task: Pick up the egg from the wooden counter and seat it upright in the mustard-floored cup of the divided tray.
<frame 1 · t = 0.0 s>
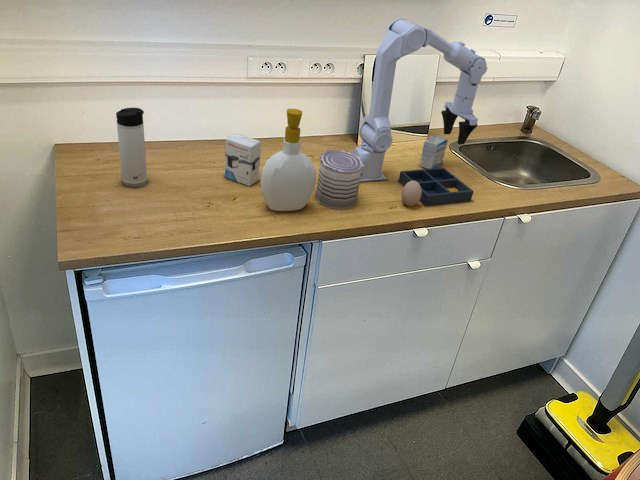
hand: (453, 138, 168), 10 cm above the worktop, tool pointing down, fingers open, 7 cm apart
divided tray: (433, 191, 159), on the worktop
ink box: (241, 179, 152), on the worktop
egg: (408, 205, 150), on the worktop
soap bottle: (285, 207, 142), on the worktop
medicine box: (430, 165, 175), on the worktop
can: (336, 199, 148), on the worktop
travel mug: (135, 183, 144), on the worktop
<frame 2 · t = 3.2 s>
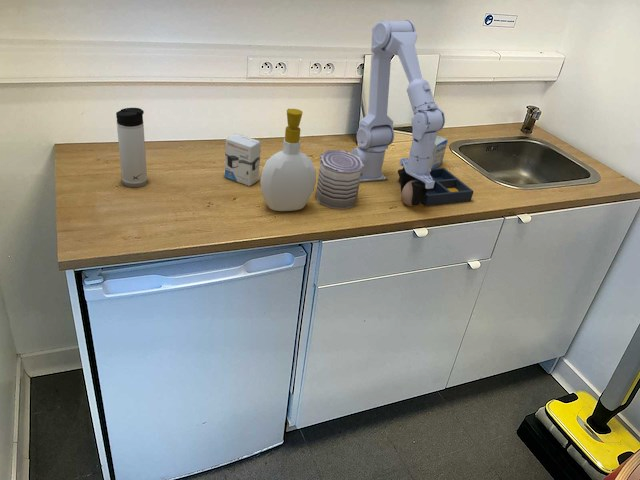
hand: (410, 199, 149), 2 cm above the worktop, tool pointing down, fingers closed on egg, 5 cm apart
egg: (408, 205, 150), on the worktop, touching gripper
everything else where it was.
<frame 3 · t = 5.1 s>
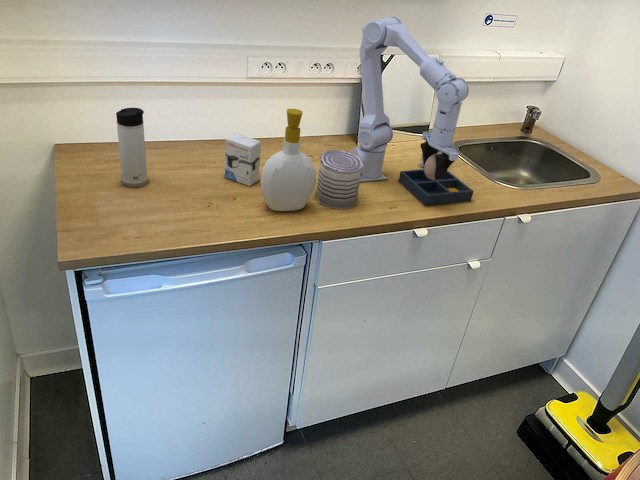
hand: (432, 173, 148), 9 cm above the worktop, tool pointing down, fingers closed on egg, 5 cm apart
egg: (431, 179, 149), point 7 cm above the worktop, touching gripper
everything else where it was.
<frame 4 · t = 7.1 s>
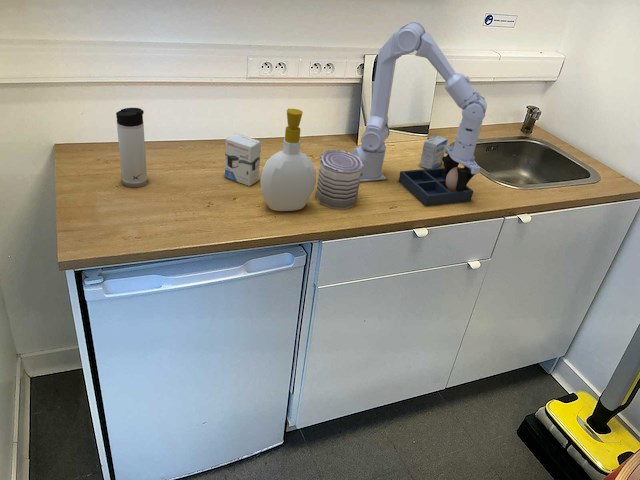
hand: (453, 185, 156), 3 cm above the worktop, tool pointing down, fingers closed on egg, 5 cm apart
egg: (452, 191, 157), point 1 cm above the worktop, touching gripper
everything else where it was.
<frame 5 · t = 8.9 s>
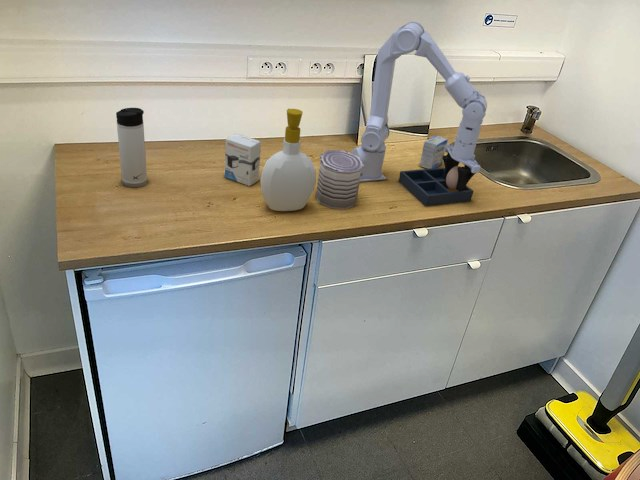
hand: (454, 184, 156), 4 cm above the worktop, tool pointing down, fingers closed on egg, 5 cm apart
egg: (452, 190, 157), point 2 cm above the worktop, touching gripper
everything else where it was.
when the fingers open (4 cm above the worktop, at t = 10.3 s): egg drops 1 cm, resting on divided tray.
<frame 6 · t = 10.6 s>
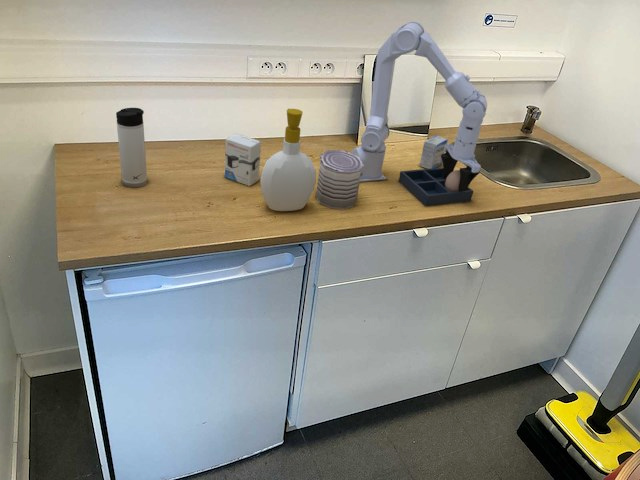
hand: (454, 184, 156), 4 cm above the worktop, tool pointing down, fingers open, 7 cm apart
egg: (451, 194, 158), point 1 cm above the worktop, touching divided tray
everything else where it was.
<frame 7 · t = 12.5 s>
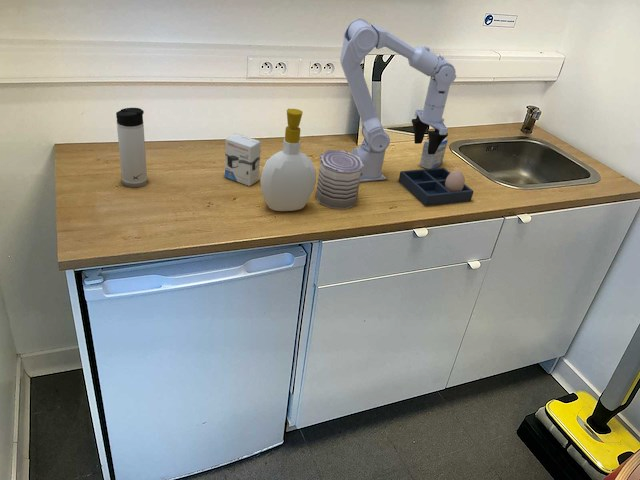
hand: (424, 148, 161), 9 cm above the worktop, tool pointing down, fingers open, 7 cm apart
nothing on the worktop moved.
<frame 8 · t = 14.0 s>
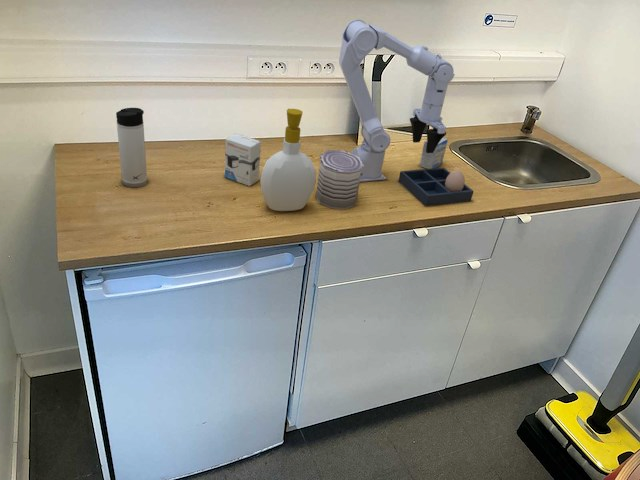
hand: (422, 147, 162), 9 cm above the worktop, tool pointing down, fingers open, 7 cm apart
nothing on the worktop moved.
at the end: egg 0.1 cm from the target spot in the divided tray, point 0.5 cm above the divided tray's base; egg tilted 0°; the gripper is holding nothing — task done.
